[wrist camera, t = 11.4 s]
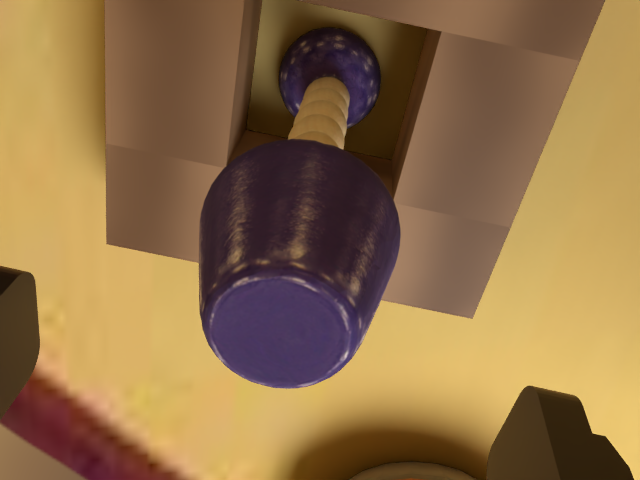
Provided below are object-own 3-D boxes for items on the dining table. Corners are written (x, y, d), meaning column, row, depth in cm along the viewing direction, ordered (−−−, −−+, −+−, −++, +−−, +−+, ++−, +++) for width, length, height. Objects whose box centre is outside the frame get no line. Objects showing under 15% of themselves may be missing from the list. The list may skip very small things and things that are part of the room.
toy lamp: (280, 8, 24) (135, 220, 10) (398, 17, 24) (423, 246, 10) (278, 123, 26) (161, 422, 12) (385, 132, 26) (389, 446, 12)
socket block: (604, -105, 21) (646, -99, 18) (462, 266, 30) (472, 318, 26) (149, -205, 21) (102, -218, 17) (138, 199, 29) (106, 243, 26)
